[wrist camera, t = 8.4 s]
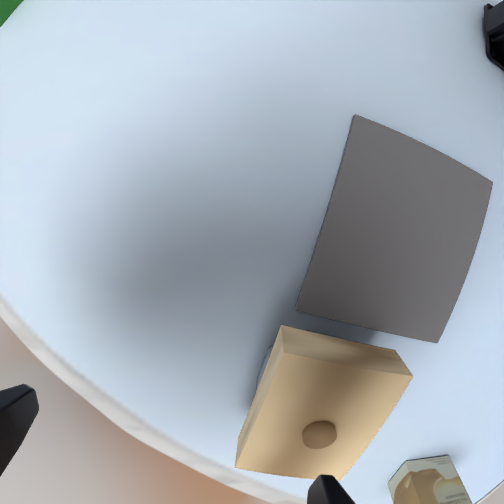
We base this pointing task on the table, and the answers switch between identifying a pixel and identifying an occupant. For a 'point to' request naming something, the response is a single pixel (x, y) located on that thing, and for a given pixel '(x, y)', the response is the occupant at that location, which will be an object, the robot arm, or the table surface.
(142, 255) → the table surface
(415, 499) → the skincare box
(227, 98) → the table surface
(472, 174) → the mat
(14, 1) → the hardback book
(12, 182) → the table surface
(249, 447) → the lid
